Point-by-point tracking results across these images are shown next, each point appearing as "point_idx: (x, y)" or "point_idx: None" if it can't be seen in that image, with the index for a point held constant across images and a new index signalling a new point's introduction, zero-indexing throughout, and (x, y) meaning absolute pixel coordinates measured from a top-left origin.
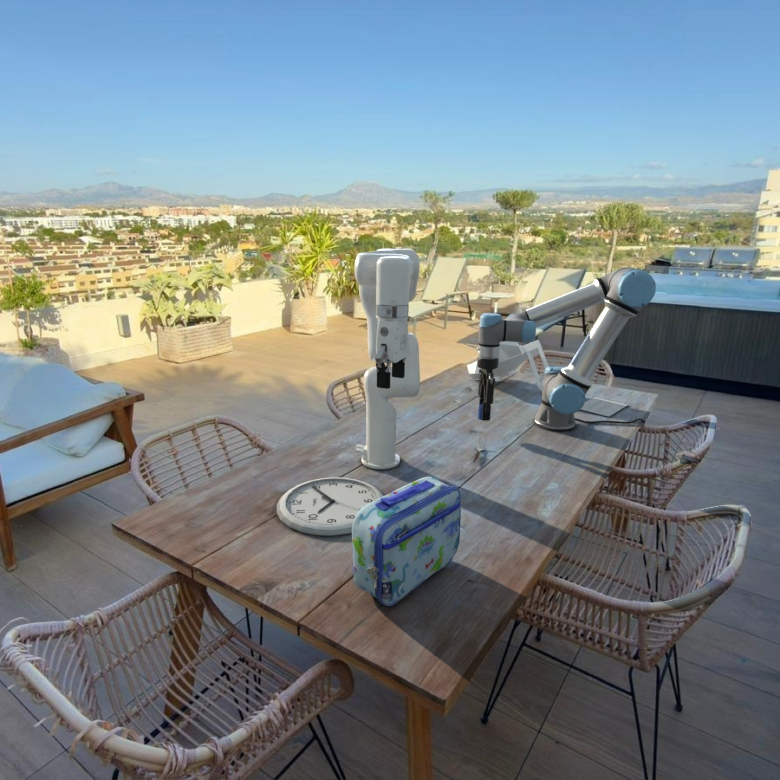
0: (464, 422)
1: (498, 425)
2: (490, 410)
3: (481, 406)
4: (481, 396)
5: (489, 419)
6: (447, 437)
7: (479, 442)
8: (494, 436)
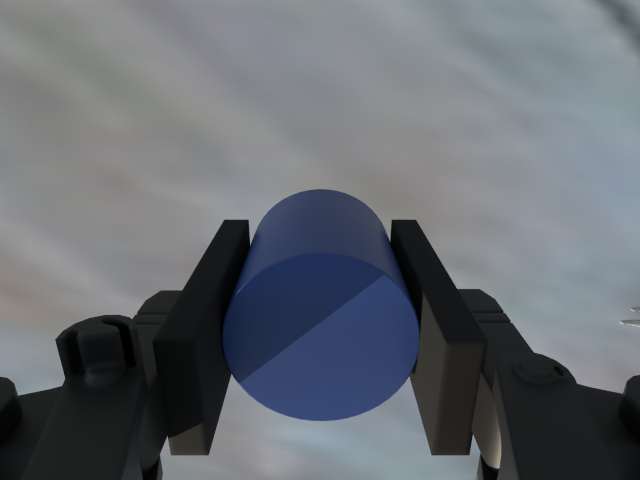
0: (114, 304)
1: (156, 10)
2: (371, 241)
3: (353, 396)
4: (149, 464)
5: (418, 226)
6: (410, 454)
7: (632, 322)
8: (436, 135)
